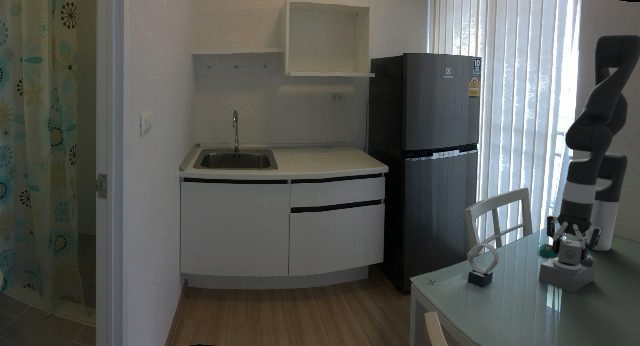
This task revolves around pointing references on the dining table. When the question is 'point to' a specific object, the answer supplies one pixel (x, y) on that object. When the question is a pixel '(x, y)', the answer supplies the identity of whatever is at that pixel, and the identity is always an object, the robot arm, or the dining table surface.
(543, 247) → the digital multimeter
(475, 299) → the dining table surface
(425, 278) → the dining table surface
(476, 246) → the watch
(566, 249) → the dice cube
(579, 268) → the camera body
